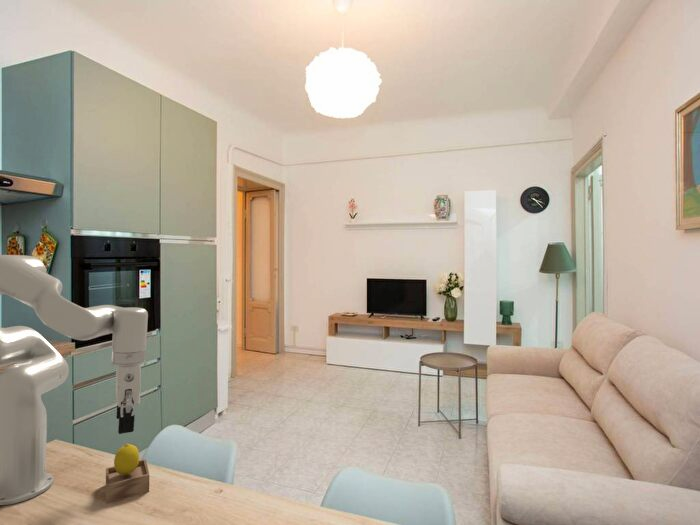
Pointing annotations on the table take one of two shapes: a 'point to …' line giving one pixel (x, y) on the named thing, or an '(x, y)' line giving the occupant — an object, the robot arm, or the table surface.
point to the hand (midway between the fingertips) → (124, 424)
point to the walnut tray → (126, 482)
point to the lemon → (126, 459)
